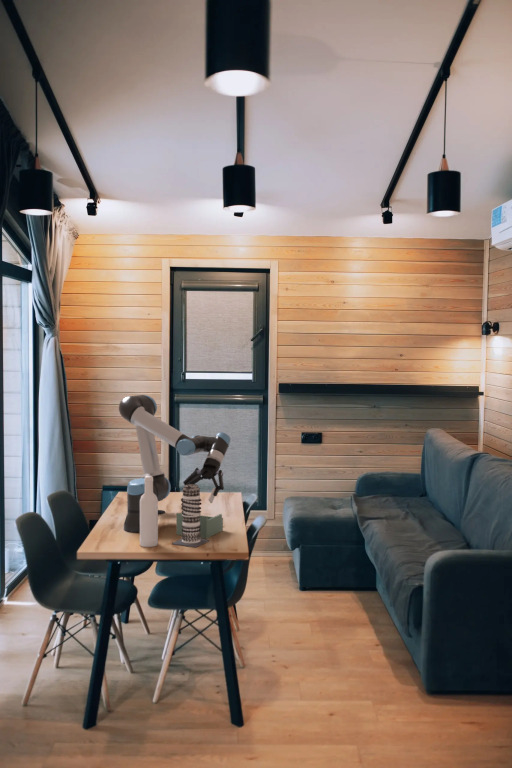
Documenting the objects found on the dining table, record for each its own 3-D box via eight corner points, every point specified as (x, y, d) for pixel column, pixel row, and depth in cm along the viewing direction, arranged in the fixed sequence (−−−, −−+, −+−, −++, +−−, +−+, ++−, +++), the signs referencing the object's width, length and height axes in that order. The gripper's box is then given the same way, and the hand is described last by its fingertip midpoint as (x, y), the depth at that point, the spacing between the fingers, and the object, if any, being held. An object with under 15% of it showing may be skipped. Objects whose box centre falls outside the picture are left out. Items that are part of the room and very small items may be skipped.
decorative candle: (182, 544, 278) (182, 487, 277) (179, 539, 287) (179, 483, 286) (203, 542, 280) (203, 486, 280) (199, 537, 289) (199, 482, 289)
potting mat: (172, 544, 280) (172, 543, 280) (186, 537, 291) (186, 536, 291) (195, 547, 275) (195, 546, 275) (209, 540, 286) (209, 539, 286)
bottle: (158, 542, 284) (158, 475, 283) (158, 546, 276) (158, 478, 275) (139, 542, 283) (139, 475, 282) (139, 547, 275) (139, 478, 274)
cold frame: (176, 534, 297) (176, 513, 297) (193, 526, 311) (193, 506, 311) (206, 538, 290) (206, 516, 290) (222, 530, 305) (222, 509, 304)
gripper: (239, 468, 296) (224, 507, 283) (193, 464, 306) (176, 501, 293) (234, 458, 291) (218, 497, 278) (187, 455, 301) (170, 492, 288)
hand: (197, 500), depth 285 cm, fingers open, 13 cm apart
